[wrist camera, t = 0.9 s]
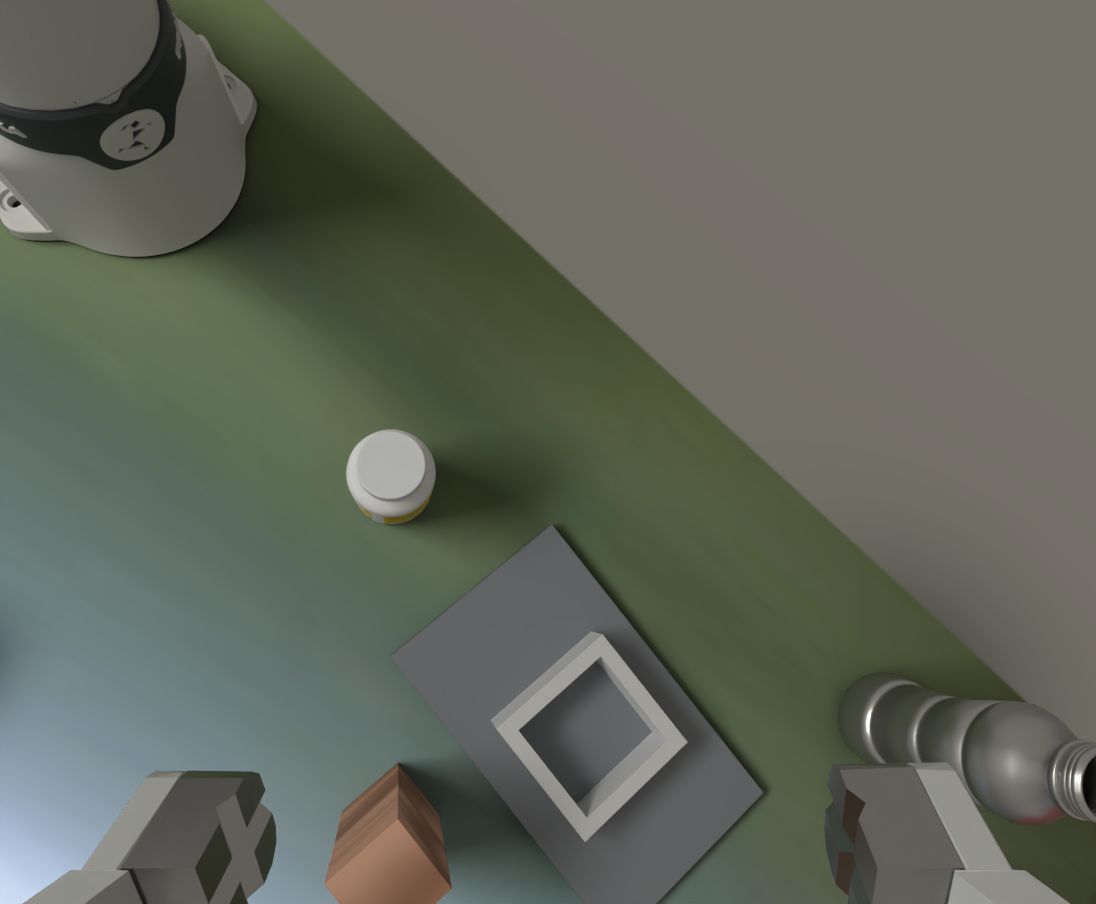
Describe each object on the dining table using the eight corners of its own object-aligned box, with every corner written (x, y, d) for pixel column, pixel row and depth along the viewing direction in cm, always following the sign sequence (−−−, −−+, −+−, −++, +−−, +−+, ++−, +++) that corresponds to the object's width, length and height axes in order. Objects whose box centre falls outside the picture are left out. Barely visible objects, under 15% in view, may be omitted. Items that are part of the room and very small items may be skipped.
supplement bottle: (444, 466, 53) (453, 442, 44) (413, 537, 52) (416, 528, 42) (372, 436, 52) (366, 404, 43) (339, 507, 51) (326, 490, 42)
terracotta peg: (342, 810, 48) (324, 884, 36) (398, 762, 49) (397, 819, 38) (384, 864, 48) (379, 955, 36) (439, 815, 49) (451, 888, 38)
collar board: (390, 654, 50) (389, 661, 46) (549, 525, 54) (560, 521, 50) (612, 937, 50) (630, 967, 46) (756, 788, 53) (784, 805, 50)
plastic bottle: (920, 708, 57) (1188, 774, 38) (871, 780, 55) (1125, 889, 36) (859, 650, 57) (1097, 687, 37) (808, 721, 55) (1030, 799, 36)
